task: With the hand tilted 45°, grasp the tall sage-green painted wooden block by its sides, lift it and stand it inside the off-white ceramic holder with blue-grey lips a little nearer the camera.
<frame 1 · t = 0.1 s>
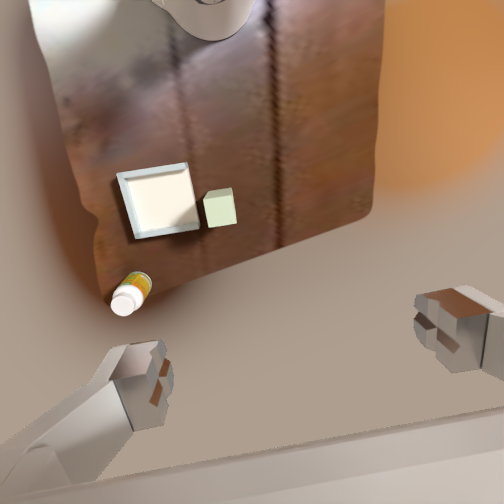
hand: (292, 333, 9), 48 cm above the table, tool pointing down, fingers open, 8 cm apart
green block: (222, 201, 55), on the table
supplement bottle: (139, 282, 59), on the table
holder: (162, 199, 54), on the table
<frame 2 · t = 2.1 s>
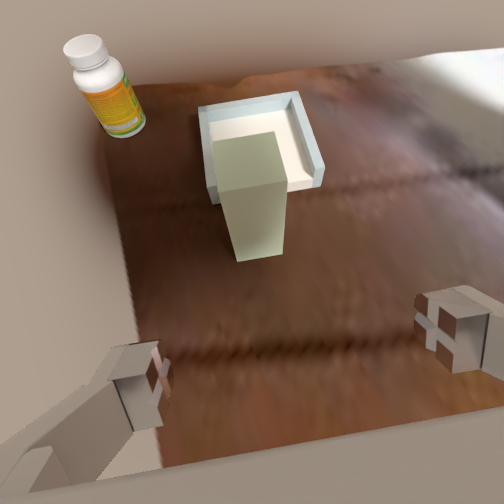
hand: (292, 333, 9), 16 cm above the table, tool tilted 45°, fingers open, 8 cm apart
green block: (256, 238, 29), on the table
supplement bottle: (127, 126, 38), on the table
holder: (257, 155, 34), on the table
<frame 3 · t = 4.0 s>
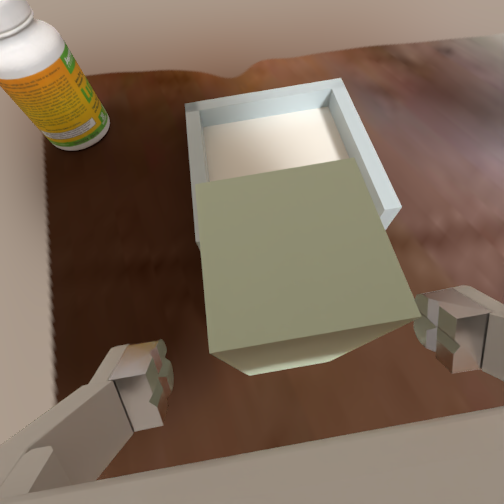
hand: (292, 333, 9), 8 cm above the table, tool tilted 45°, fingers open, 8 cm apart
green block: (280, 328, 17), on the table
supplement bottle: (83, 132, 26), on the table
holder: (277, 178, 22), on the table
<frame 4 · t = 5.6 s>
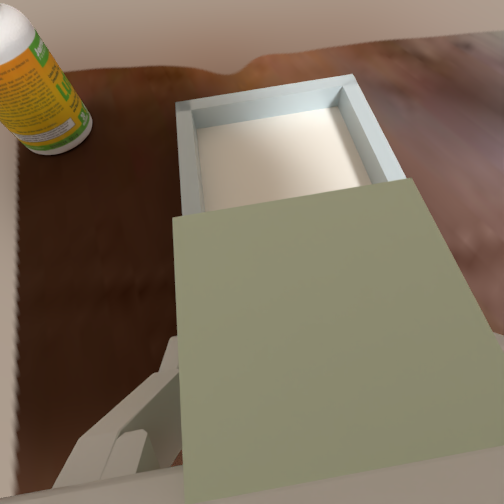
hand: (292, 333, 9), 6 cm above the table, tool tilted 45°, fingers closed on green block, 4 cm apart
green block: (286, 367, 14), on the table, touching gripper
supplement bottle: (62, 134, 23), on the table
holder: (281, 187, 19), on the table
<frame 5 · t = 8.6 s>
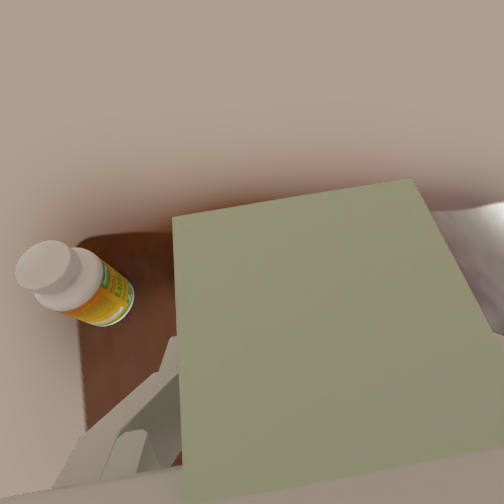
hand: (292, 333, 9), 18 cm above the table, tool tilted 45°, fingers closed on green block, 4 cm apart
green block: (286, 367, 14), point 12 cm above the table, touching gripper
supplement bottle: (110, 301, 30), on the table
when the fingers open (8 cm above the table, at t = 11.4 s): green block stays where it is, resting on holder.
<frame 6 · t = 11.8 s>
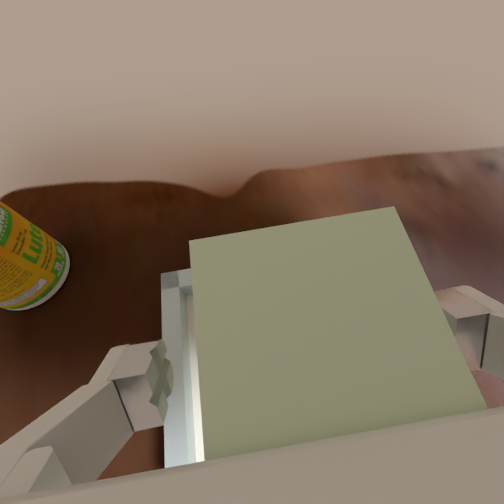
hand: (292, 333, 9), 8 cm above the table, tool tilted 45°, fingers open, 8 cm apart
green block: (287, 368, 15), point 1 cm above the table, touching holder
supplement bottle: (36, 275, 20), on the table
holder: (284, 370, 16), on the table
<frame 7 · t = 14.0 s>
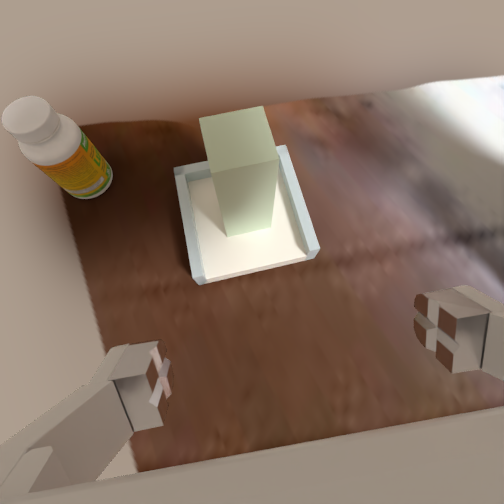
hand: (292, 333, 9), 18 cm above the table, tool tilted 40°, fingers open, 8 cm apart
green block: (244, 212, 29), point 1 cm above the table, touching holder
supplement bottle: (91, 180, 33), on the table
holder: (244, 219, 31), on the table
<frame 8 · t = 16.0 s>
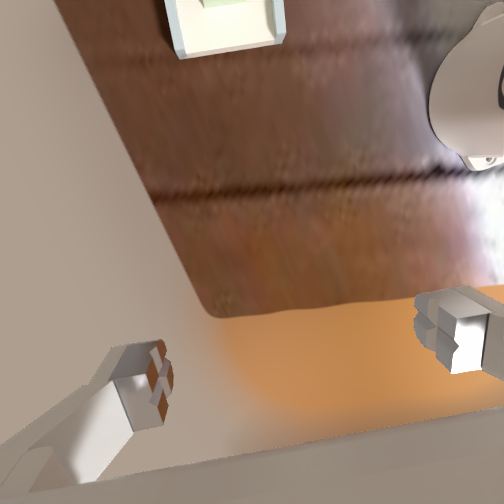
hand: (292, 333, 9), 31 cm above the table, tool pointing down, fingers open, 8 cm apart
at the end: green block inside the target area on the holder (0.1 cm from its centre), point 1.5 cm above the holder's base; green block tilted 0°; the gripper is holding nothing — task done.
